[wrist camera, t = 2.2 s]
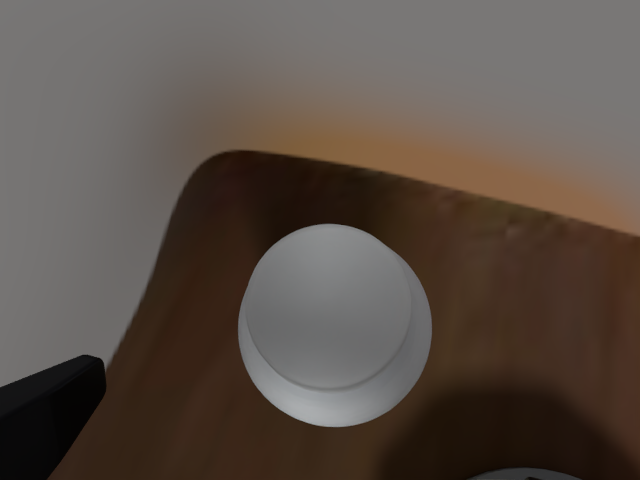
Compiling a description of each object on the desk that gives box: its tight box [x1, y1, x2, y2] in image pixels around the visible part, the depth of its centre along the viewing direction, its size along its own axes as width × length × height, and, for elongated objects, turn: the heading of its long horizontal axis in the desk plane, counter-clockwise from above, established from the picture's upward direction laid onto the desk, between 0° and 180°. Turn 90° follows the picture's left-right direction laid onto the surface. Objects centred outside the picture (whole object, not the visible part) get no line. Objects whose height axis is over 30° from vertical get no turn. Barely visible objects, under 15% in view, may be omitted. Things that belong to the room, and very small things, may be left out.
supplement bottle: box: [238, 224, 432, 427], centre depth 15 cm, size 6×6×10 cm
